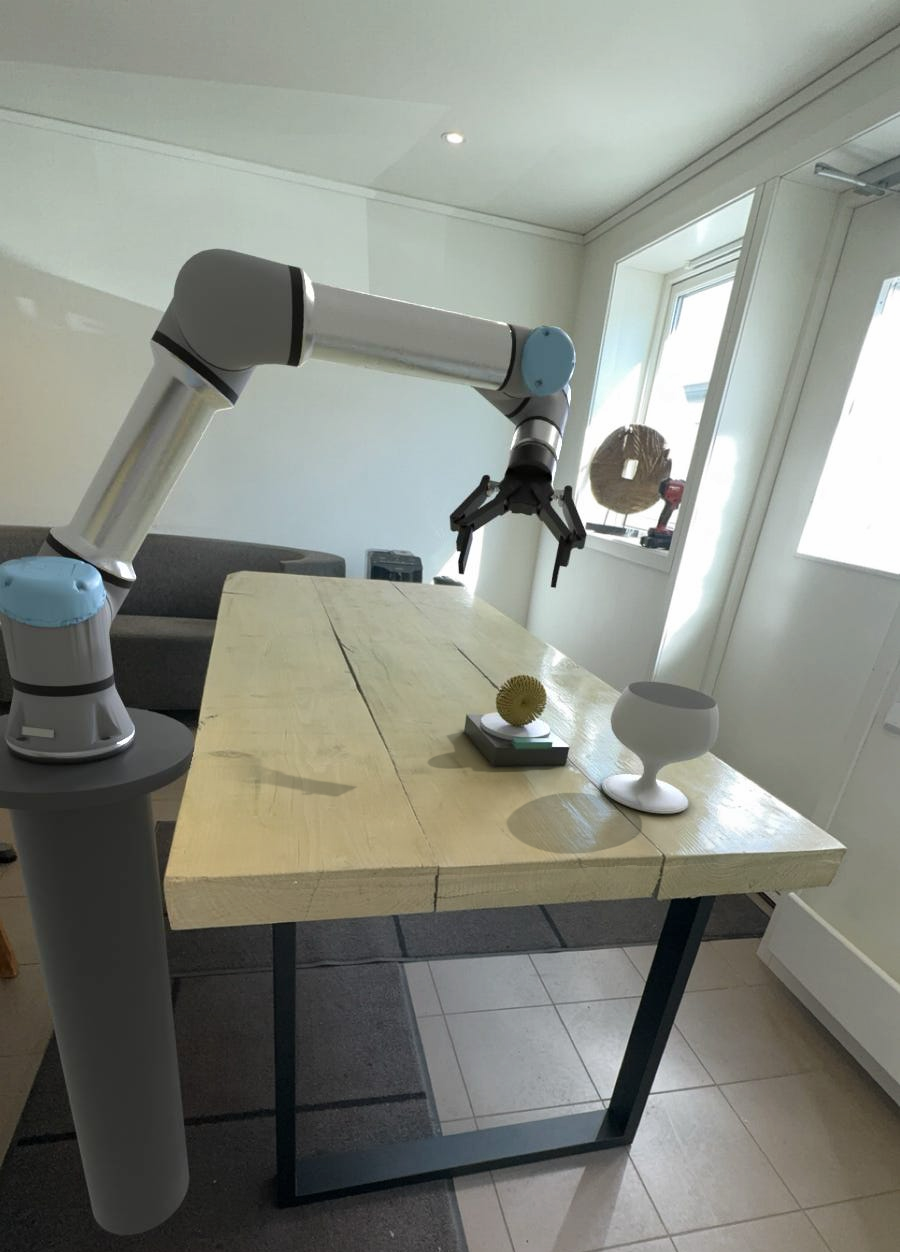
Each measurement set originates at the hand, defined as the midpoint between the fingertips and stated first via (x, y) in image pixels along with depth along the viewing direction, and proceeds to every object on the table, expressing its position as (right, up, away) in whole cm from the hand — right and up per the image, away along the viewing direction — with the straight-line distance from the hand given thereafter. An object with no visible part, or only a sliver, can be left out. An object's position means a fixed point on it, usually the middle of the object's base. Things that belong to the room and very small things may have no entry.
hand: (507, 575), depth 95 cm
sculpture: (+2, -21, +9) cm, 23 cm away
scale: (+2, -24, +10) cm, 26 cm away
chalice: (+19, -32, -1) cm, 37 cm away
